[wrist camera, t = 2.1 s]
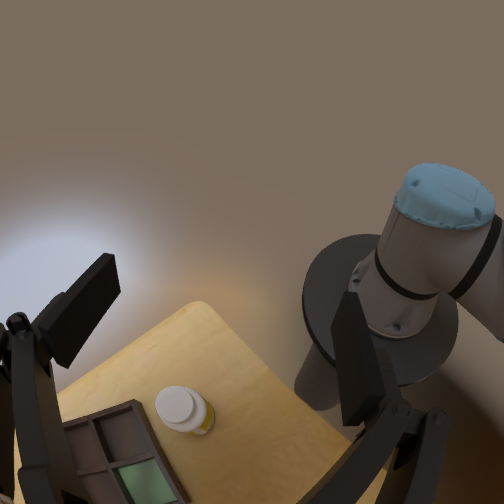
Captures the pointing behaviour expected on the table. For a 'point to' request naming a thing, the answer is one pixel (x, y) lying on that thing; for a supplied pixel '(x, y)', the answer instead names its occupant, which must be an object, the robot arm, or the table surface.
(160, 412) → the supplement bottle
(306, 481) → the table surface
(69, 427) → the compartment tray
